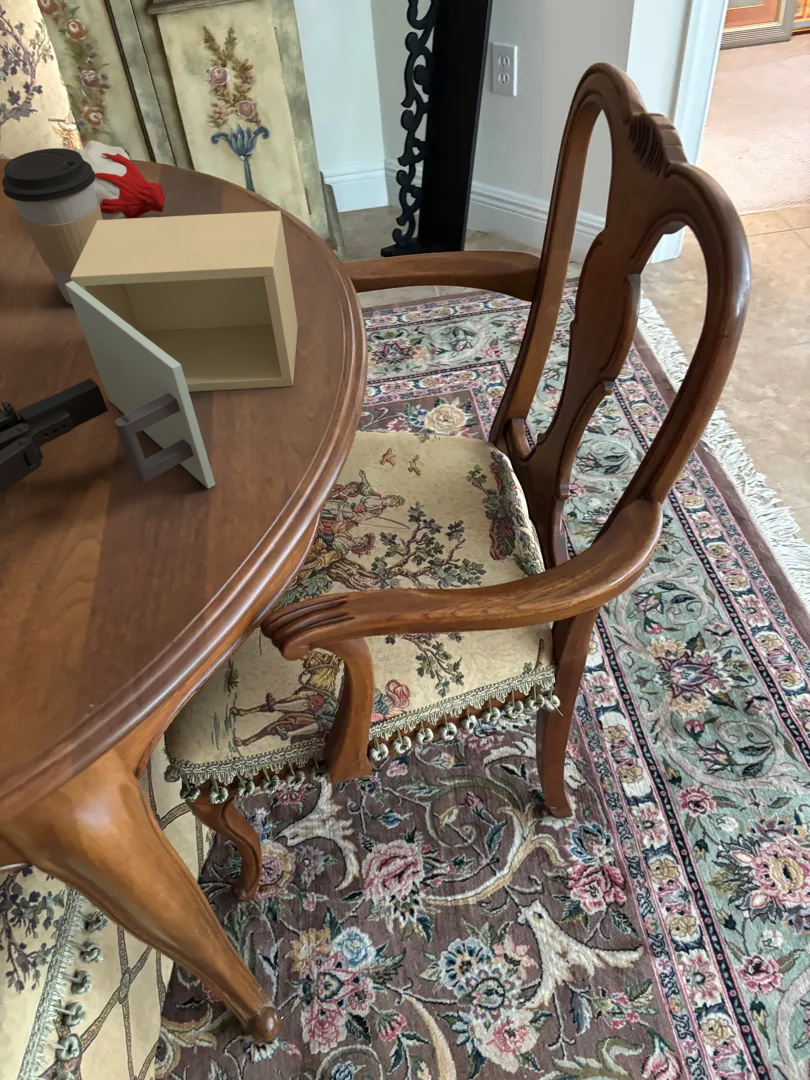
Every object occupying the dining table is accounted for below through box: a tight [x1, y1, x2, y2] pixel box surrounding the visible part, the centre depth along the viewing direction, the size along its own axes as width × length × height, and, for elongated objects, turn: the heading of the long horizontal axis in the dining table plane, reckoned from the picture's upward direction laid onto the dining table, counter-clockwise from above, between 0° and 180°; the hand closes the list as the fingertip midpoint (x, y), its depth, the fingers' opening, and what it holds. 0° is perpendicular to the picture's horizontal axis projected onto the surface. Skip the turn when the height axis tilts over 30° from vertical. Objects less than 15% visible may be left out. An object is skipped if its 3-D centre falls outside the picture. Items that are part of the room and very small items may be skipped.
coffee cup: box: [1, 147, 103, 306], centre depth 87 cm, size 9×9×15 cm
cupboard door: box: [65, 281, 216, 490], centre depth 68 cm, size 6×18×13 cm, turn 43°
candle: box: [73, 140, 166, 220], centre depth 102 cm, size 9×11×15 cm
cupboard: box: [70, 210, 299, 393], centre depth 78 cm, size 11×18×13 cm, turn 93°
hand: (99, 394), depth 67 cm, fingers closed
